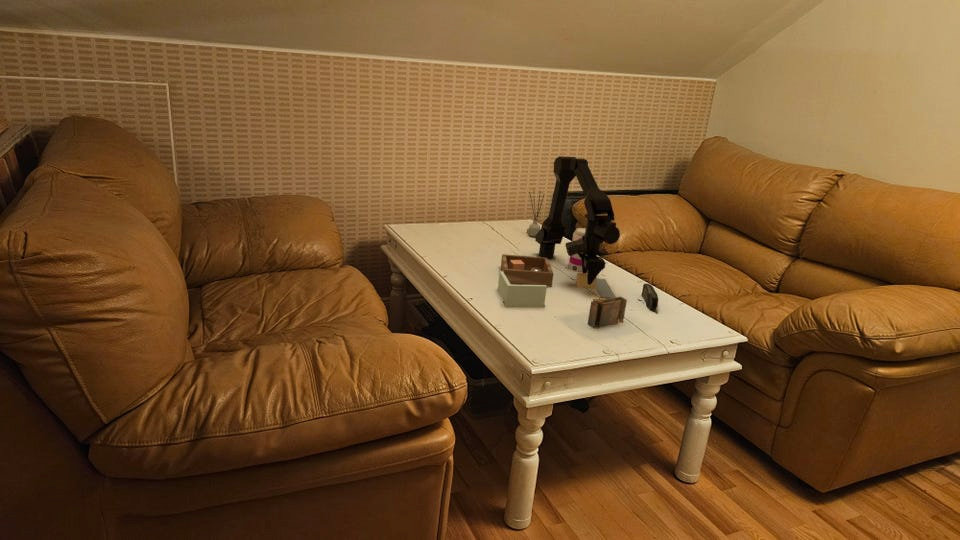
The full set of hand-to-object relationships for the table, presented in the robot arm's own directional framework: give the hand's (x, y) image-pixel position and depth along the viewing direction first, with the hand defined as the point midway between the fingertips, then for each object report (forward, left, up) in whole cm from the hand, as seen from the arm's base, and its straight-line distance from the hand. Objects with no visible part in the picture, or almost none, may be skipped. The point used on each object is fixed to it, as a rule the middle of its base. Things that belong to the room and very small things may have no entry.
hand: (586, 279), depth 201 cm
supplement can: (-17, +1, -3) cm, 17 cm away
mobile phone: (+10, +19, -3) cm, 22 cm away
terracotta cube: (-7, -23, -2) cm, 24 cm away
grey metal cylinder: (-1, -17, -2) cm, 17 cm away
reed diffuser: (-56, -13, -3) cm, 58 cm away
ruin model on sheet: (+28, +1, -4) cm, 28 cm away
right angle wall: (+15, -23, -4) cm, 28 cm away
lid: (0, 0, -4) cm, 4 cm away
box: (-4, -20, -3) cm, 21 cm away
